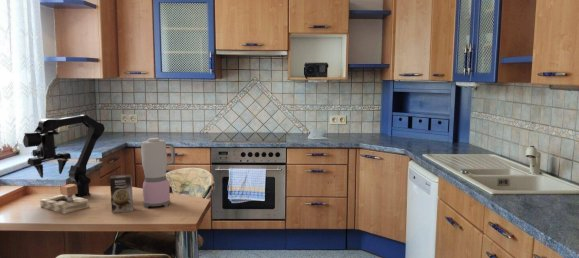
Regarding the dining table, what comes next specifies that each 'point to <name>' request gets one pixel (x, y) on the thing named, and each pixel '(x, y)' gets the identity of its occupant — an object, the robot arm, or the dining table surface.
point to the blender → (156, 172)
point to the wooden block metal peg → (69, 191)
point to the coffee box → (121, 193)
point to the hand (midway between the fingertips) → (51, 175)
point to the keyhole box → (64, 203)
